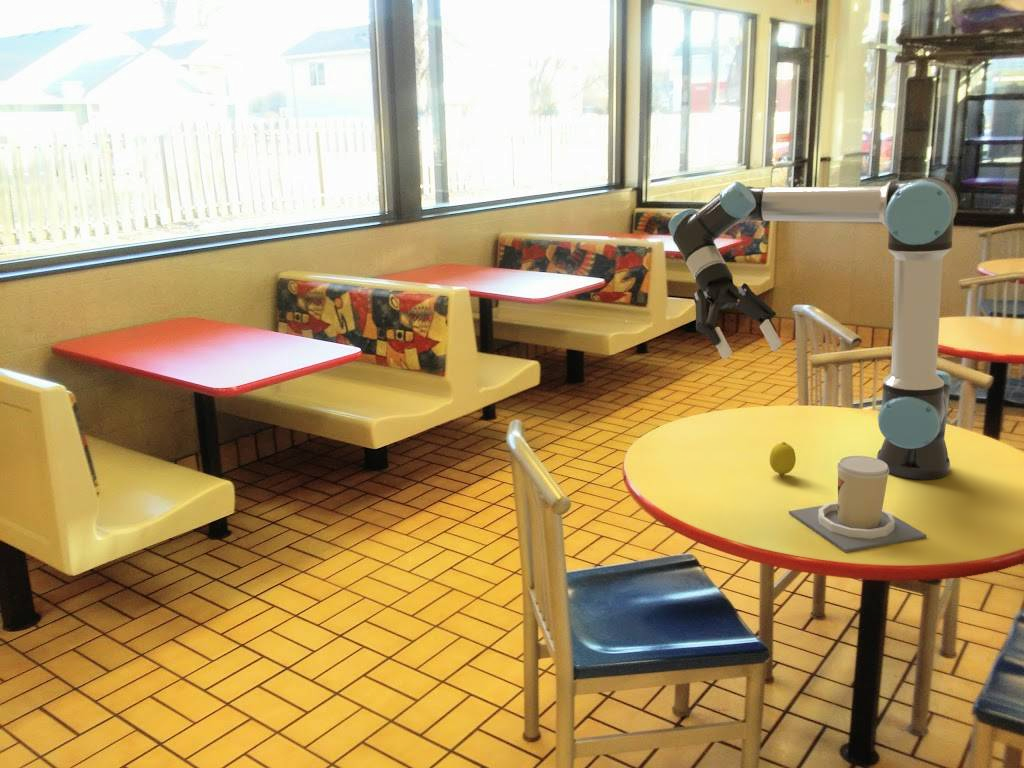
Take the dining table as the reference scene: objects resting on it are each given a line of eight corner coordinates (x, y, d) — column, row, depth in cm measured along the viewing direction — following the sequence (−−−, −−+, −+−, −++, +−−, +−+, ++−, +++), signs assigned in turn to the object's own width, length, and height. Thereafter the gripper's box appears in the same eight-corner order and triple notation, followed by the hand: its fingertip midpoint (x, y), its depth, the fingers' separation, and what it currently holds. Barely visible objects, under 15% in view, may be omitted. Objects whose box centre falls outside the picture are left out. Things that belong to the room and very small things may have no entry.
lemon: (767, 478, 199) (769, 444, 196) (769, 469, 204) (771, 436, 201) (793, 481, 197) (796, 447, 194) (795, 472, 202) (797, 439, 199)
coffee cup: (843, 507, 182) (848, 451, 178) (890, 518, 176) (896, 461, 173) (826, 522, 175) (830, 465, 172) (874, 535, 169) (880, 476, 166)
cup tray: (864, 501, 186) (865, 491, 185) (926, 537, 169) (927, 527, 168) (788, 513, 181) (789, 504, 180) (844, 552, 164) (845, 542, 164)
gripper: (745, 276, 205) (787, 353, 197) (656, 287, 195) (697, 369, 186) (762, 256, 199) (807, 334, 191) (671, 266, 189) (715, 350, 180)
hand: (753, 352), depth 188 cm, fingers open, 13 cm apart
